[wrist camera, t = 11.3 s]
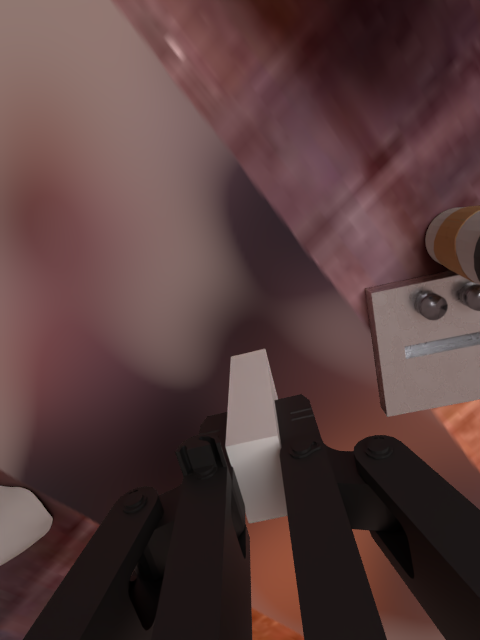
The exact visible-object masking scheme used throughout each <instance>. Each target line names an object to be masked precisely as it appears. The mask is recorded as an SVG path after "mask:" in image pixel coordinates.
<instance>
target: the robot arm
mask: <svg viewBox="0 0 480 640" xmlns="http://www.w3.org/2000/svg"><path fill="white" fill-rule="evenodd" d="M175 453H176V456H177V459H178V461H179V465H180V467H181V470H182V473H183V481H182V484H181V485H180V486H178V487H176V488H174V489H172V490H170V491H168V492H166V493H164V494H161V495H158V492H157V490H155V489H154V488H153V487H147V486H146V487H139V488H136V489H133V490H131V491H129V492H127V493H126V494H124V495H123V496H122V497H120V499H119V500H118V501H117V502H116V503H115V504H114V506H113V507H112V508H111V510H110V511H109V513H108V515H107V516H106V518H105V519H104V520H103V522H102V523H101V525H100V526H99V528H98V529H97V531H96V532H95V534H94V535H93V537H92V538H91V540H90V541H89V542H88V544H87V545H86V547H85V548H84V550H83V551H82V553H81V554H80V556H79V557H78V559H77V560H76V562H75V563H74V565H73V566H72V568H71V569H70V571H69V572H68V573H67V575H66V576H65V578H64V579H63V581H62V582H61V584H60V585H59V587H58V588H57V590H56V591H55V593H54V594H53V596H52V597H51V599H50V600H49V602H48V603H47V605H46V606H45V607H44V609H43V610H42V612H41V613H40V615H39V616H38V618H37V619H36V621H35V622H34V624H33V625H32V627H31V628H30V630H29V631H28V633H27V634H26V636H25V637H24V639H23V640H252V616H251V581H250V580H251V576H250V537H249V534H248V530H247V527H246V524H245V512H246V516H247V519H248V522H249V523H254V522H259V521H264V520H269V519H274V518H278V517H283V516H288V522H289V529H290V537H291V543H292V551H293V559H294V566H295V573H296V581H297V588H298V595H299V603H300V610H301V618H302V625H303V632H304V640H387V639H386V636H385V632H384V629H383V626H382V623H381V620H380V616H379V613H378V610H377V607H376V604H375V601H374V598H373V595H372V591H371V588H370V585H369V582H368V579H367V576H366V573H365V570H364V566H363V563H362V560H361V557H360V554H359V550H358V548H357V544H356V541H355V538H354V535H353V532H352V529H361V530H369V531H370V533H371V536H372V537H373V539H374V540H375V542H376V543H377V545H378V546H379V547H380V549H381V550H382V551H383V553H384V554H385V556H386V557H387V558H388V559H389V561H390V562H391V564H392V565H393V567H394V568H395V570H396V571H397V572H398V574H399V575H400V576H401V578H402V579H403V581H404V582H405V584H406V585H407V586H408V588H409V589H410V590H411V592H412V593H413V594H414V596H415V597H416V599H417V600H418V602H419V603H420V604H421V606H422V607H423V609H424V610H425V611H426V613H427V614H428V615H429V617H430V618H431V619H432V621H433V622H434V624H435V625H436V626H437V628H438V629H439V631H440V632H441V634H442V635H443V636H444V638H445V639H446V640H480V510H479V509H478V508H477V507H476V506H475V505H473V504H472V503H471V502H470V501H469V500H468V499H466V498H465V497H464V496H463V495H462V494H461V493H460V492H458V491H457V490H456V489H455V488H454V487H453V486H452V485H450V484H449V483H448V482H447V481H446V480H445V479H444V478H442V477H441V476H440V475H439V474H438V473H437V472H435V471H434V470H433V469H432V468H431V467H430V466H429V465H427V464H426V463H425V462H424V461H423V460H422V459H420V458H419V457H418V456H417V455H416V454H415V453H414V452H412V451H411V450H410V449H409V448H408V447H407V446H405V445H404V444H403V443H402V442H401V441H399V440H397V439H396V438H394V437H390V436H386V435H375V436H371V437H367V438H365V439H363V440H361V441H359V442H358V443H357V444H356V446H355V447H354V451H338V450H334V449H332V448H330V447H328V446H326V445H325V444H324V443H323V441H322V439H321V436H320V433H319V430H318V426H317V423H316V420H315V417H314V414H313V411H312V408H311V405H310V401H309V400H308V399H307V398H306V397H304V396H303V395H301V394H300V395H296V396H292V397H287V398H283V399H278V397H277V394H276V390H275V386H274V382H273V378H272V374H271V370H270V366H269V362H268V358H267V354H266V350H265V349H263V350H258V351H254V352H249V353H245V354H241V355H237V356H233V357H231V366H230V382H229V398H228V412H225V413H221V414H216V415H212V416H207V418H206V419H205V420H204V422H203V423H202V424H201V426H200V433H199V435H197V436H193V437H191V438H189V439H187V440H186V441H184V442H183V443H182V444H181V445H180V446H179V447H178V448H177V450H176V452H175ZM134 569H135V570H134ZM133 571H134V572H133ZM132 572H133V574H132ZM131 575H132V576H131Z"/></svg>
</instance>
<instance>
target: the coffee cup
mask: <svg viewBox="0 0 480 640" xmlns="http://www.w3.org/2000/svg"><path fill="white" fill-rule="evenodd" d="M425 243H426V248H427V251H428V253H429V255H430V256H431V257H432V259H433V260H435V261H436V262H438V263H439V264H441V265H443V266H445V267H446V268H448V269H449V270H451V271H453V272H455V273H457V274H459V275H460V276H462V277H464V278H466V279H468V280H470V281H472V282H475V283H477V284H479V285H480V206H469V207H463V208H453V209H448V210H446V211H444V212H442V213H440V214H439V215H438V216H437V217H436V218H434V220H433V221H432V222H431V224H430V225H429V228H428V230H427V232H426V238H425Z"/></svg>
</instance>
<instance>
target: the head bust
mask: <svg viewBox="0 0 480 640" xmlns="http://www.w3.org/2000/svg"><path fill="white" fill-rule="evenodd" d="M52 521H53V518H52V516H51V515H50V514H49V513H48V512H47V510H46V509H45V508H44V506H43V505H42V503H41V502H40V501H39V500H38V499H37V497H36V496H35V495H34V494H33V493H32V492H31V491H29V490H27V489H25V488H21V487H5V486H0V566H1V565H2V564H4V563H6V562H7V561H9V560H11V559H12V558H14V557H16V556H17V555H19V554H20V553H22V552H23V551H25V550H26V549H27V548H29V547H30V546H31V545H33V544H34V543H35V542H36V541H38V540H39V539H40V538H41V537H43V536H44V535H45V534H46V533H47V532H48V531H49V529H50V527H51V525H52Z"/></svg>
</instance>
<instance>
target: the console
mask: <svg viewBox="0 0 480 640" xmlns="http://www.w3.org/2000/svg"><path fill="white" fill-rule="evenodd" d="M365 292H366V299H367V307H368V314H369V322H370V329H371V337H372V344H373V351H374V359H375V367H376V374H377V382H378V389H379V397H380V404H381V408H382V409H383V411H384V412H385V414H386V415H387V417H388V416H394V415H399V414H405V413H410V412H415V411H420V410H426V409H431V408H437V407H442V406H447V405H452V404H458V403H463V402H468V401H474V400H479V399H480V285H479V284H477V283H475V282H472V281H470V280H468V279H466V278H464V277H462V276H460V275H459V274H457V273H455V272H453V271H446V272H441V273H436V274H432V275H427V276H422V277H417V278H412V279H408V280H403V281H398V282H393V283H389V284H384V285H379V286H374V287H369V288H365Z"/></svg>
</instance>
